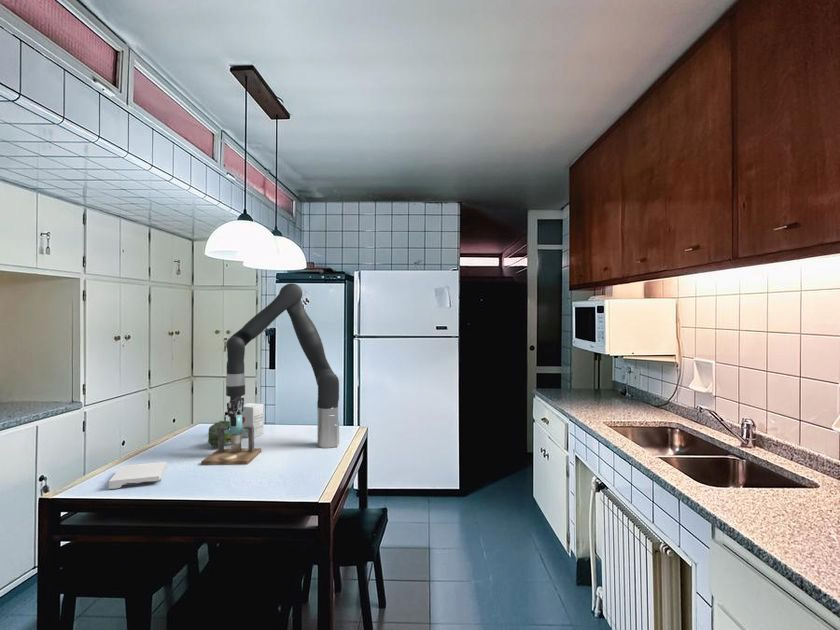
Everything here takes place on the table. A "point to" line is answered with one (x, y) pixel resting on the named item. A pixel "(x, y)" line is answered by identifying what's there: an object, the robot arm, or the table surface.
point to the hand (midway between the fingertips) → (235, 424)
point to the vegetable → (214, 433)
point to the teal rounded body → (238, 427)
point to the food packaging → (138, 474)
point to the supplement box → (253, 418)
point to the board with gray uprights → (233, 450)
